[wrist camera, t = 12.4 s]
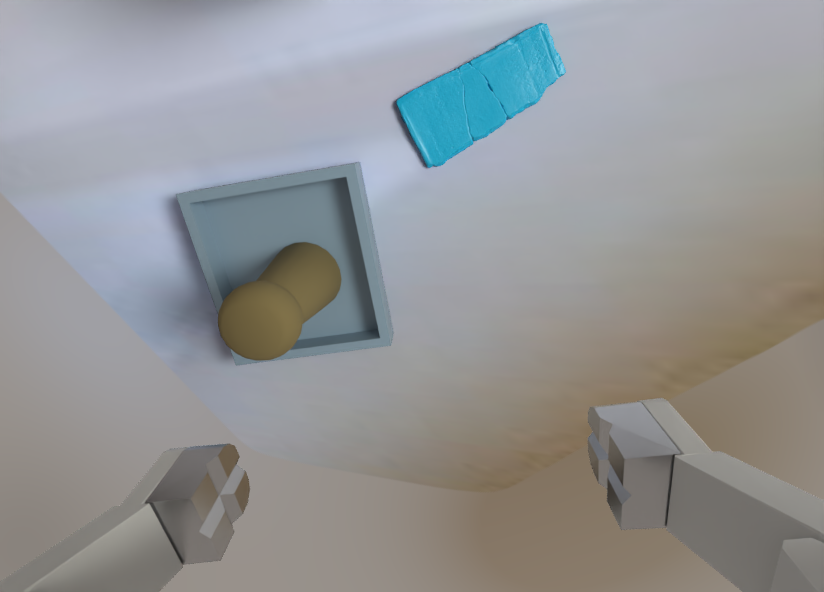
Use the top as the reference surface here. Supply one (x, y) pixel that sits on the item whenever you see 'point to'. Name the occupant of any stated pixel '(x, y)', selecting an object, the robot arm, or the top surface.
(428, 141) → the sponge
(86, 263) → the top surface
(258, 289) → the cork
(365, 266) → the tray
